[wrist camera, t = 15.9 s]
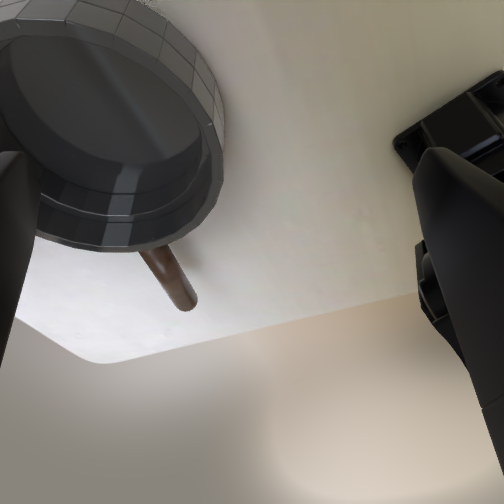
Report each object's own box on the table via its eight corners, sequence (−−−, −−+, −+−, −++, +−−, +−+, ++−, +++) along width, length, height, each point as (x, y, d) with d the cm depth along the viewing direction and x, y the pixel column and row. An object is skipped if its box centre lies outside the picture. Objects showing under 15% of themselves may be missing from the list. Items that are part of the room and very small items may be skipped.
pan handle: (130, 222, 25) (126, 244, 24) (158, 217, 25) (154, 239, 24) (179, 297, 32) (177, 317, 30) (201, 294, 31) (200, 314, 30)
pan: (271, 119, 23) (278, 169, 20) (135, 229, 29) (125, 279, 26) (50, -106, 15) (8, -78, 12) (-68, 111, 21) (-114, 163, 19)
